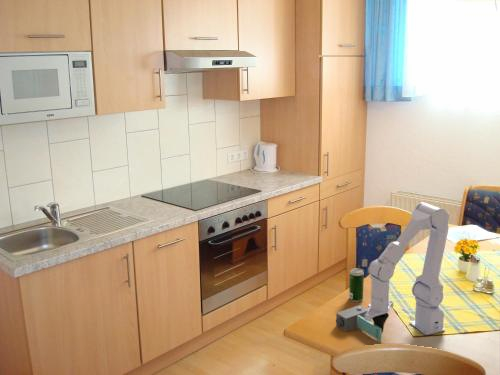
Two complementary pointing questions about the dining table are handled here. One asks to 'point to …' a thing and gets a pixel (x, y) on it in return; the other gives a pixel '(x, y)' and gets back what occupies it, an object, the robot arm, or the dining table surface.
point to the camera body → (350, 317)
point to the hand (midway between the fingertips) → (378, 332)
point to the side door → (369, 327)
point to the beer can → (356, 285)
